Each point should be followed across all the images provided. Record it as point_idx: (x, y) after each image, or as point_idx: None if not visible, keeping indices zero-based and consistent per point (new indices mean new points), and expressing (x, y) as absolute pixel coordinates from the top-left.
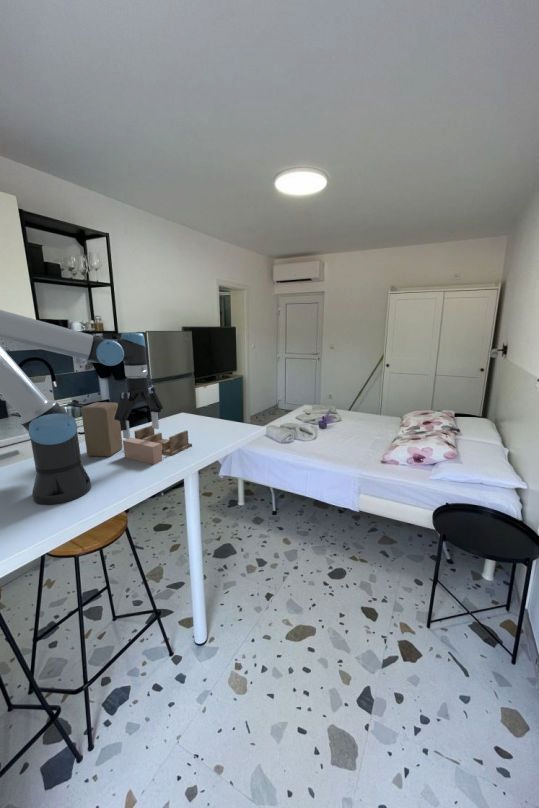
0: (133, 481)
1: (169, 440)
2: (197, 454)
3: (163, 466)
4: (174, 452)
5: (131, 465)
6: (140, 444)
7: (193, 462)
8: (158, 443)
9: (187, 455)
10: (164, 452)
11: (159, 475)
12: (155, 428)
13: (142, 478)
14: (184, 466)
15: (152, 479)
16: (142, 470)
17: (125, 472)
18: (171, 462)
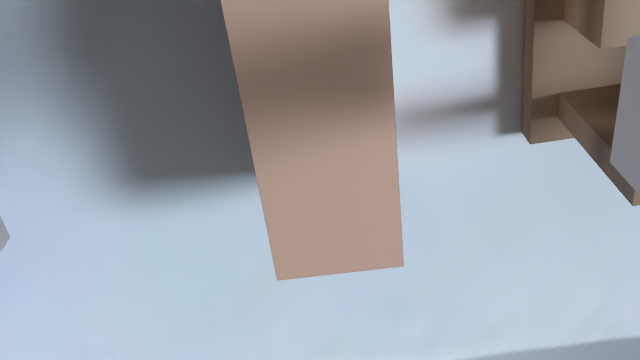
0: (10, 291)
1: None
2: (628, 269)
3: None
4: (559, 138)
5: (128, 20)
6: (240, 92)
7: (474, 346)
8: (393, 241)
9: (577, 227)
10: (529, 38)
11: (187, 338)
12: (617, 117)
13: (79, 297)
14: (387, 350)
15: (121, 349)
16: (146, 193)
17: (19, 119)
18: None
